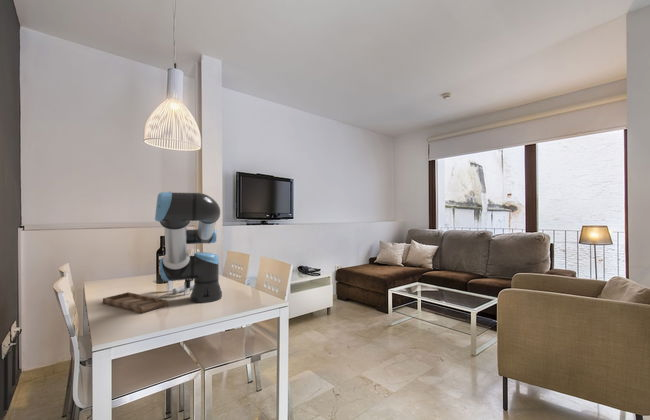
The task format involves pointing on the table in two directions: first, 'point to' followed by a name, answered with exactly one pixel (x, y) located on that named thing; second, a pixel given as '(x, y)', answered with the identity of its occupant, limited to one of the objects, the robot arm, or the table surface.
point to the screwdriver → (179, 289)
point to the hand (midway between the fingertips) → (178, 292)
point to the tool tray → (135, 302)
